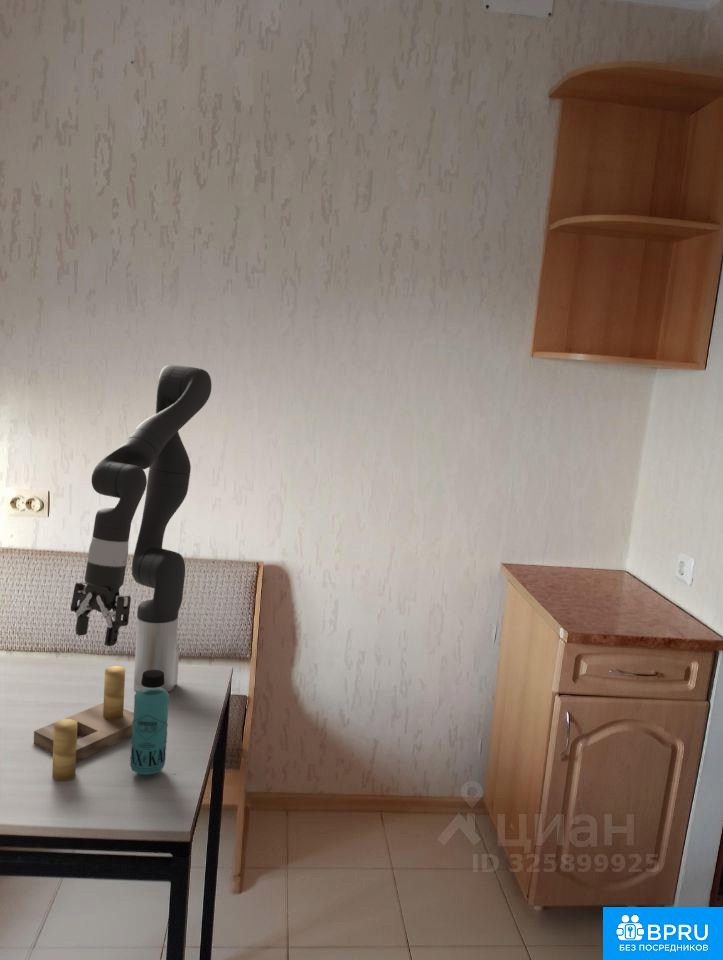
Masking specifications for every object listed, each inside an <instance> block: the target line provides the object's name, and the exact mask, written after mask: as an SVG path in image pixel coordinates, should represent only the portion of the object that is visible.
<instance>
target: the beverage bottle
mask: <svg viewBox="0 0 723 960" xmlns="http://www.w3.org/2000/svg"><path fill="white" fill-rule="evenodd" d="M141 684H142V686H144V687H143V688H142V689H140V690H139V691H138V692H137V691H136V692H135V694H134V699H133V700H134V701H133V702H134V704H133V713H134V718H133V722H132V724H133V727H132V728H133V730H132V736H131V737H130V745H131V746H130V756H129V757H130V758H129V762H130V763H129V765H130V768H131V770H132V772H134V773H136V774H139V775H152V774H156V773H159V772H161V771H162V770H163V768H164V766H165V765H166V759H167V757H166V756H167V753H166V752H167V743H168V742H167V741H168V740H167V738H168V737H167V736H168V726H169V723H168V716H169V714H168V713H169V700H170V694H169V692H167V691H165V690H164V689H163V688H162V687H161V686H163V685H164V673H163V672H162V671H160V670H147V671H145V672H144V673H143V675H142V680H141Z"/></svg>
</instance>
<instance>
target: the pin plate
mask: <svg viewBox="0 0 723 960" xmlns="http://www.w3.org/2000/svg"><path fill="white" fill-rule="evenodd" d="M125 683H126V668H125V667H124V666H120V665H113V666H112V665H111V666H108V667H106V668H105V669H104V688H103V702H102V703H100V704H97V705H95V706H92V707H90V708H88V709H85V710H83V711H80V712H77V713H75V714H73V715H70V716H68V717H66V718H62V719H61V720H63V719H72V720H75V721H77V735H78V734H79V735H80V736H83V737H81V738H79V739H77V748H76V763H79V762H80V761H82V760H85V759H87V758H88V757H92V755H94V754H97V753H99V752H101V751H103V750H105V749H108V748H110V747H112V746H114V745H117V744H118V743H120V742H123V741H125V740H126V739H129V738H132V737H131V736H132V730H133V728H132V727H133V724H132V722H133V718H134V712H132V711H130V710H127V709H125V708H124V707H125V706H124V705H125V703H124V702H125ZM54 723H55V722H53V723H51V724H48V725H46V726H43V727H41V728H38V729H35V730H33V743H34V744H35V745H37V746H38V747H41V748H42V749H43V748H44V749H45V750H48V752H51V753H53V738H54Z"/></svg>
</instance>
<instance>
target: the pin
mask: <svg viewBox="0 0 723 960" xmlns="http://www.w3.org/2000/svg"><path fill="white" fill-rule="evenodd" d="M62 719H63V720H62ZM62 719H59V720H57V721H55V722H53V723H54V738H53V752H52V774H51V775H52V776H51V777H52V779H53V780H55V781H59V782H65V781H66V782H67V781H70V780H72V779H74V778H75V777H76V773H77V772H76V771H77V767H76V766H77V762H76V748H77V740H78V733H77V721H75V720H72V719H65V718H62Z"/></svg>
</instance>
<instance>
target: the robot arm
mask: <svg viewBox="0 0 723 960" xmlns="http://www.w3.org/2000/svg"><path fill="white" fill-rule="evenodd" d="M211 392H212V378H211V375H210V374H209V372H208V371H206V370H205V369H203V368H199V367H194V366H193V367H192V366H184V365H179V364H178V365H177V364H167V365H165V366H164V367H163V368H162V369H161V371H160V372H159V376H158V381H157V386H156V401H155V414H153V415H151V416H149V417H148V418H146V419H145V420H143V421H141V422H140V424H138V425H137V427H135V428H134V430H133V431H132V432H131V434H130V435H129V436H128V438H127V439H126V440H125V442H124V443H123V444H122V445H120V446H119V447H117V448H116V449H115V450H113V451H112V452H111V453H109V454H107V455H106V456H105V457H104V458H102V459H101V460H100V461H99V462H98V463H97V465H96V466H95V468H94V469H93V472H92V474H91V486H92V488H93V490H94V491H95V492H96V493H97V494H100V495H103V496H107V497H111V498H112V497H113V498H118V499H119V500H118V502H117V504H116V505H115V507H106V508H105V507H104V508H100V509H99V510H97V511H96V514H95V518H94V525H93V529H92V530H93V531H92V537H91V542H90V545H89V547H88V554H87V555H88V556H87V562H86V567H85V574H84V581H83V582H76V583H75V584H74V589H73V594H72V599H71V602H70V611H71V612H74V613H75V615H76V618H77V619H76V625H75V634H76V636H85V635H86V634H88V627H89V622H90V621H89V620H90V616H89V615H90V614H91V612H92V611H94V610H96V611H97V612H99V613H101V614H102V617H103V618H105V621H106V624H107V627H106V633H105V639H104V645H105V646H107V647H112V646H115V645H116V643H117V642H118V637H119V636H118V635H119V631H120V628H121V627H125V626H128V625H129V619H130V611H131V610H130V609H131V600H132V597H131V596H130V595H121V594H120V588H121V587H122V586H123V585H124V581H125V575H126V569H127V562H128V555H129V540H130V535H131V526H132V522H133V519H134V516H135V513H136V511H137V509H138V507H139V505H140V502H141V500H142V498H143V496H144V494H145V499H144V505H143V512H142V518H141V524H140V527H139V533H138V536H137V540H136V545H135V549H134V552H133V557H132V563H131V574H132V577H133V579H134V581H135V582H136V583H137V584H138V585H141V586H144V587H148V588H151V589H154V590H153V597H152V599H148V600H145V601H142V602H140V603H139V604H138V606H137V614H136V633H135V634H136V636H135V650H134V651H135V654H134V656H135V657H134V670H133V671H134V674H133V676H134V677H133V689H134V690H135V691H136V693H137V692H138V691H139V690H140V689H142V688H143V687H144V686H142V684H141V680H142V675H143V673H144V672H145V671H147V670H160V671H162V672H163V673H164V685H163V686H161V687H162V688H163V689H164V690H165V691H167V692H168V693H170V692H171V691H172V690H174V688H175V686H177V685H178V679H179V661H180V659H179V658H180V647H179V645H177V641H178V640H177V638H178V624H179V612H180V609H181V606H182V602H183V595H184V586H185V578H186V563H185V560H184V557H183V556H182V554H180V553H179V552H177V551H173V550H169V549H166V548H165V549H164V548H163V542H164V537H165V532H166V528H167V526H168V524H169V522H170V520H171V519H172V518H173V516H174V515H175V513H176V512H177V511H178V510H179V508H180V507H181V506H182V504H183V502H184V500H185V499H186V497H187V495H188V491H189V487H190V486H189V484H190V476H191V469H192V467H191V466H192V465H191V462H190V457H189V455H188V453H187V449H186V447H185V445H184V444H183V440H182V438H181V436H180V433H179V431H180V429H182V428H183V427H184V426H185V425H186V424H187V423H188V422H189V421H191V420H192V418H194V416H195V415H196V414H198V413H199V412H200V410H201V409H203V407H204V406H205V405H206V404H207V402H208V401H209V399H210V396H211ZM148 468H149V469H148ZM146 469H148V475H146V472H145V470H146ZM145 491H146V493H145Z"/></svg>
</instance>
